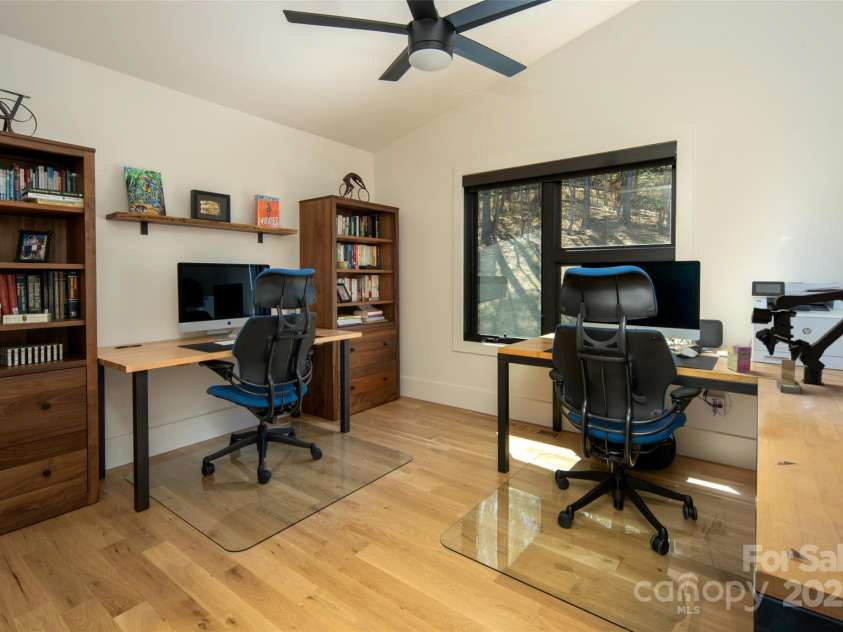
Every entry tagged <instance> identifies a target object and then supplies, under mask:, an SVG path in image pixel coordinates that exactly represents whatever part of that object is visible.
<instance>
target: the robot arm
mask: <svg viewBox="0 0 843 632" xmlns="http://www.w3.org/2000/svg"><path fill="white" fill-rule="evenodd" d="M834 301H841V302H843V289H838V290H833V291H824V292H817V293H811V294H810V293H809V294H803V295H802V294H801V295H798V294H780V295H778V296H776V297H775V298H774V301H773V303H772V304H771V305H770V306H769V307H768V308H762V307H761V308H760V307H753V308H752V309H753V310H752V313H751V317H750V319H751V320H750V322H751V324H754V325H755V324H757V325H769V323H773V325H772V326H771V327H770V328H767V327H765V328H763V329H760V330H758V331H756V333H755V339H758V341H759V342H761V343H762V345H764V346H765V348H766V350H767V352H768V354H769V356H771V357H772V356H774V354H775V353H774V352H775V349H776V348H775V347H776V345H778V344H779V343H783V344H786V345H788V347H787V348H788V349H787V350H788V351H789V352H790V360H795V362H796V361H797V360H799V362H800V363H802V365H803V366H804V367H803V377H802V379H800V381H801V382H802V383H803V384H808V385H809V384H810V385H821V386H822V385H823V386H825V383H824V382H823V370H824V369H825V367H826V365H825V363H824V362H822V361H821V360H820V359H821V358H822V356H823V355H824V352H825V351H826V350H827V349H828V348H830V347H831V346H832V345H833V344H834V343H835V342H837V340H839V339H840V338H841V337H842V336H843V318H842V319H841V320H840V321H838V322H837V323H836V324H835V325H834V326H832V327H831V328H830V329H829V330H828V331H827V332H825V333H824V334H823V335H822V336H821V337H819V338H818V339H817V340H816V341H815V342H813V343H811V344H810V342H808V341H806V340H803V339H800V338H797V339H796V340H792V339H793V338H794V337H795V336H794V334H792V330H793V329H794V327H795V326H794V325H792V318H796V317H797V314H798V312H797V311H796V310H794V309H793V308H797V307H800V306H803V305H808V304H809V305H810V304H819V303H826V302H834ZM789 309H790V310H789ZM772 320H773V322H772Z"/></svg>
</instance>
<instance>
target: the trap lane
mask: <svg viewBox="0 0 843 632" xmlns="http://www.w3.org/2000/svg"><path fill="white" fill-rule="evenodd" d="M776 387H777V388H778V390H779V392H780V393H783V394H784V393H785V394H795V395H802V389H803V387H802V385H801V384H800V383H799V381H797V380H796V379H795V385H787V384H782V383H781V379H779V378H776Z"/></svg>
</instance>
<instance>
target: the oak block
mask: <svg viewBox="0 0 843 632" xmlns="http://www.w3.org/2000/svg"><path fill="white" fill-rule="evenodd" d="M780 366H781V367H780V382H781V383H782V384H787V385H795V380H796V379H795V378H796V361H795V360H791V359H781V364H780Z"/></svg>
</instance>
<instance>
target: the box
mask: <svg viewBox="0 0 843 632" xmlns="http://www.w3.org/2000/svg"><path fill="white" fill-rule="evenodd" d="M726 352H727V355H726V368H727V367H728V368H730V369H729V370H731V369H732V370H731V371H733V370H734V372H735V371H737V372H736V373H743V372H750V373H751V365H752V363H751V361H752V346H751V347H750V346H748V345H745V344H740V343H727V351H726ZM728 368H727V369H728Z"/></svg>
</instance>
